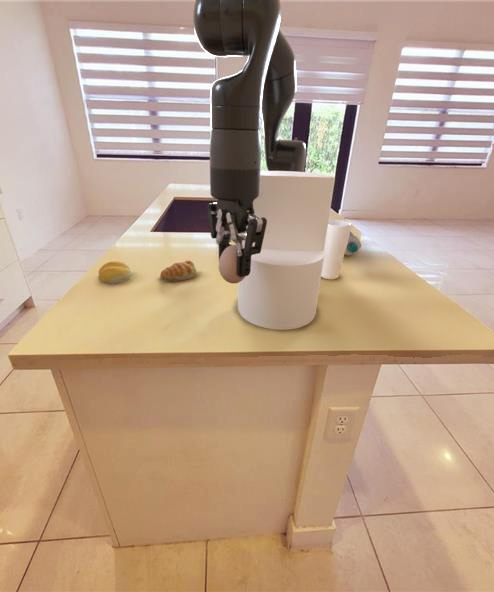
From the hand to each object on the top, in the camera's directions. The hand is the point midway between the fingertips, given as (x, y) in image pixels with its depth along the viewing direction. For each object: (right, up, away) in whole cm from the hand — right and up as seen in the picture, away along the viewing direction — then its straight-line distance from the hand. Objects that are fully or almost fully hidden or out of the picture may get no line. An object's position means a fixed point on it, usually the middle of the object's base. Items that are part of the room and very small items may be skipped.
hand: (233, 269), depth 54 cm
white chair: (+9, -8, +16) cm, 20 cm away
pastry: (-15, 0, +30) cm, 34 cm away
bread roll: (-32, 0, +29) cm, 43 cm away
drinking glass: (+26, +1, +33) cm, 42 cm away
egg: (0, -2, +1) cm, 3 cm away
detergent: (+36, +12, +55) cm, 67 cm away
